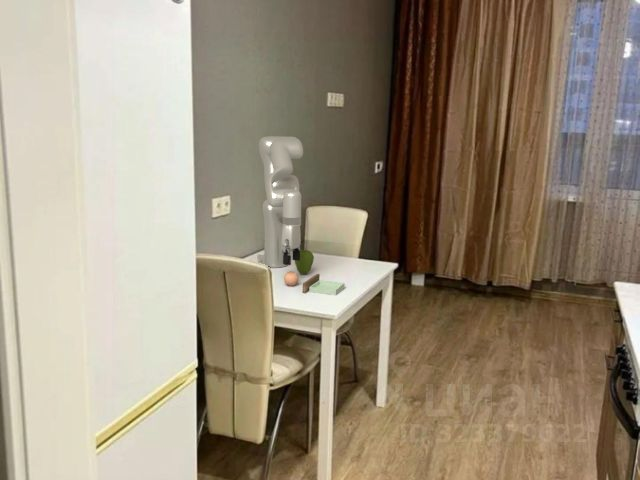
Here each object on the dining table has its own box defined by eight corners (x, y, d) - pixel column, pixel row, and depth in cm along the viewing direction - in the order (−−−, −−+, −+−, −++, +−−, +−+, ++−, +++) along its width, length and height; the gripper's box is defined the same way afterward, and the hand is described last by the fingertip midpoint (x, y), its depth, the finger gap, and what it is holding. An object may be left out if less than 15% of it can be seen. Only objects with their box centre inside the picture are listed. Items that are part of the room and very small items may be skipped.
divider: (302, 293, 242) (302, 283, 241) (316, 283, 257) (316, 273, 256) (305, 293, 241) (305, 283, 241) (319, 283, 256) (319, 274, 255)
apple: (295, 276, 265) (295, 251, 263) (293, 272, 274) (293, 247, 271) (314, 276, 267) (315, 251, 264) (311, 271, 275) (312, 246, 273)
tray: (309, 291, 243) (309, 287, 243) (319, 284, 254) (319, 280, 253) (335, 295, 240) (335, 290, 239) (344, 288, 250) (344, 283, 249)
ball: (281, 286, 250) (281, 272, 249) (287, 282, 256) (287, 269, 255) (294, 288, 248) (295, 274, 247) (300, 284, 254) (300, 270, 253)
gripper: (291, 218, 256) (291, 257, 259) (274, 223, 240) (274, 265, 243) (308, 219, 253) (307, 259, 256) (292, 225, 237) (291, 267, 240)
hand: (291, 262), depth 249 cm, fingers open, 9 cm apart
